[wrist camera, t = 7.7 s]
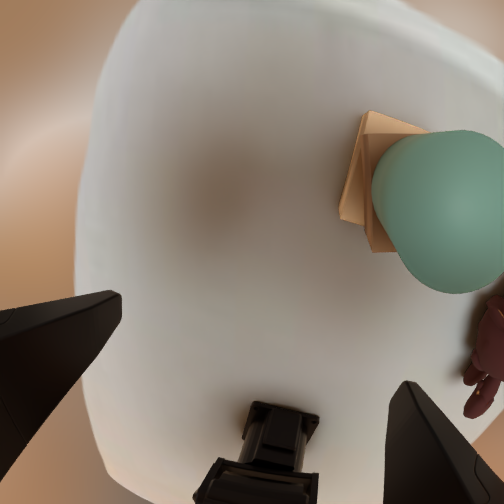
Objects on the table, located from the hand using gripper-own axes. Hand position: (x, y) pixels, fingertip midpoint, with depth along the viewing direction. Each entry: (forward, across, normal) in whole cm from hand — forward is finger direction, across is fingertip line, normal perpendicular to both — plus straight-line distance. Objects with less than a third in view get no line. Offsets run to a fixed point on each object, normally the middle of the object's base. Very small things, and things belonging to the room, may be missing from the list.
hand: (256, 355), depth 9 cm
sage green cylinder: (+6, -5, -5) cm, 9 cm away
